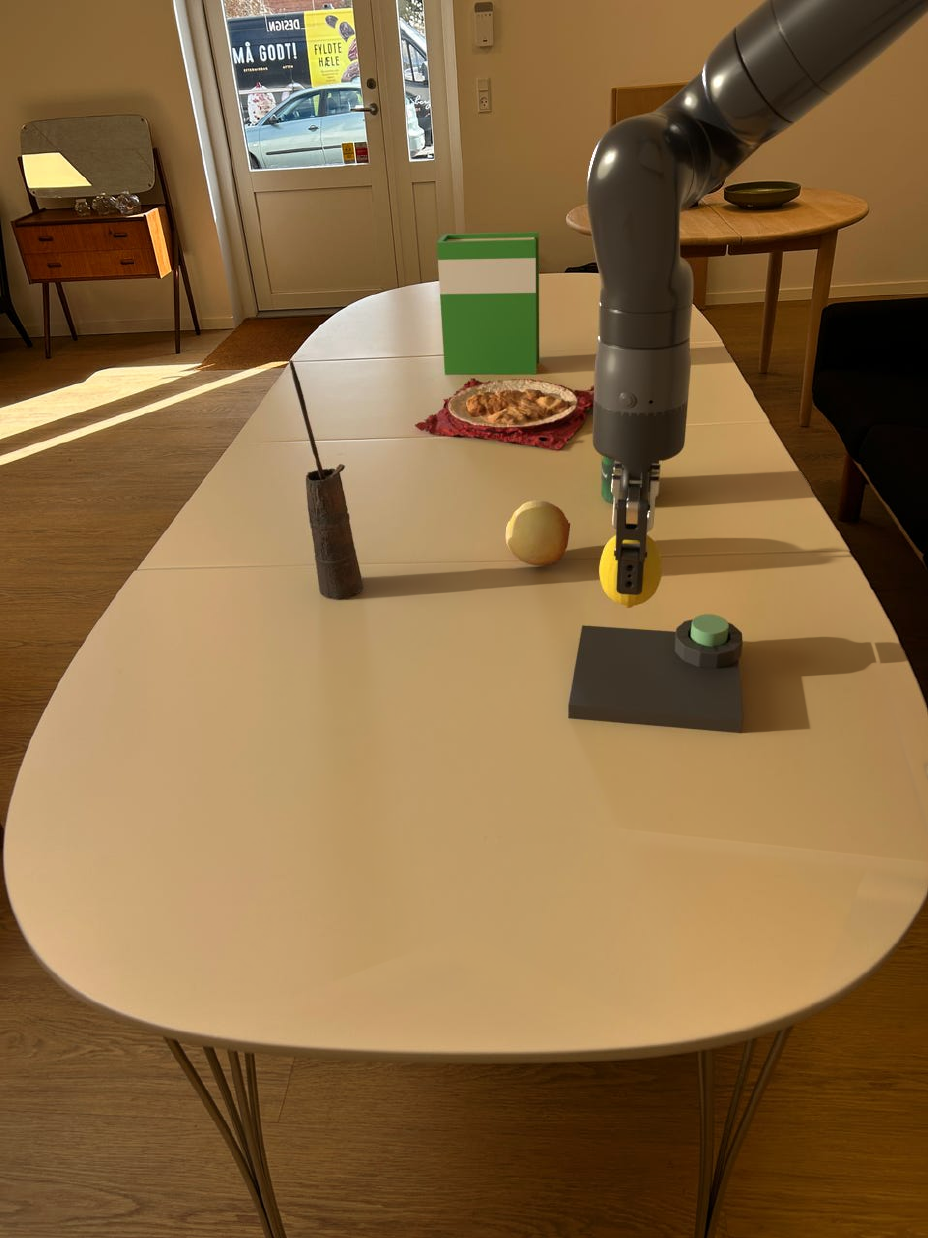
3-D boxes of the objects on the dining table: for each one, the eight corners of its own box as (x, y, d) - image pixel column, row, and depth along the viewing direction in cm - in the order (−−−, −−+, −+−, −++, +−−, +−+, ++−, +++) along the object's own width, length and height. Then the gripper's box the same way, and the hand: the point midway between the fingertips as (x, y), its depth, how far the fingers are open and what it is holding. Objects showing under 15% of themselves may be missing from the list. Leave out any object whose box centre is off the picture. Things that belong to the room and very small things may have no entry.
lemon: (633, 630, 83) (637, 550, 78) (585, 607, 86) (587, 530, 82) (671, 606, 86) (678, 528, 81) (624, 585, 89) (628, 509, 85)
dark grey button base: (737, 647, 98) (741, 619, 96) (743, 734, 86) (748, 704, 84) (582, 636, 101) (582, 609, 99) (568, 718, 89) (568, 689, 87)
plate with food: (472, 388, 173) (471, 369, 171) (606, 398, 162) (606, 379, 161) (413, 435, 155) (410, 415, 153) (558, 450, 145) (558, 429, 143)
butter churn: (372, 559, 118) (346, 337, 103) (396, 594, 111) (372, 359, 96) (301, 576, 115) (264, 350, 100) (321, 612, 108) (284, 374, 93)
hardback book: (539, 362, 183) (538, 231, 170) (536, 374, 177) (535, 240, 164) (450, 362, 186) (443, 234, 173) (444, 374, 180) (436, 242, 167)
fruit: (523, 542, 120) (522, 485, 116) (581, 557, 116) (582, 498, 112) (492, 568, 115) (490, 509, 110) (552, 584, 111) (552, 524, 106)
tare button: (726, 629, 95) (728, 615, 94) (727, 649, 92) (729, 634, 91) (690, 627, 96) (691, 612, 95) (690, 646, 93) (691, 632, 92)
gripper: (688, 426, 68) (672, 620, 77) (688, 365, 80) (674, 540, 89) (585, 424, 70) (581, 614, 79) (600, 364, 82) (595, 536, 91)
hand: (631, 574), depth 84 cm, fingers closed on lemon, 5 cm apart
